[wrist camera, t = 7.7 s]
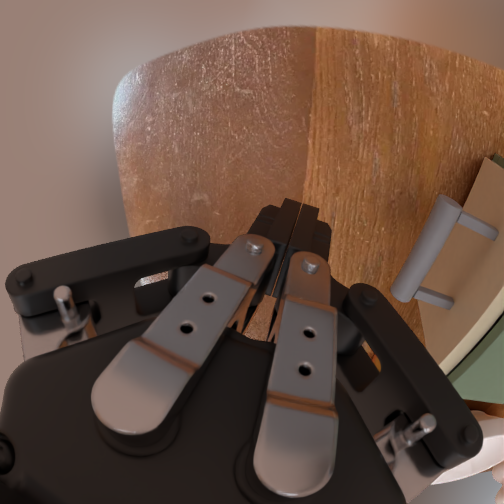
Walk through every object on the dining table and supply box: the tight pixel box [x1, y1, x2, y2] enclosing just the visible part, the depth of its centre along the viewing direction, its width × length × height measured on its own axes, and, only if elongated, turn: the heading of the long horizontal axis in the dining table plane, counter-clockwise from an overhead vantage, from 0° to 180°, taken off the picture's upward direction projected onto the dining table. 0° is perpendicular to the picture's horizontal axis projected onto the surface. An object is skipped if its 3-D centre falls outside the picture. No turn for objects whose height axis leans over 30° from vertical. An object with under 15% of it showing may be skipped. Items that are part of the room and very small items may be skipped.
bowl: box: [430, 410, 504, 485], centre depth 27 cm, size 20×20×7 cm
